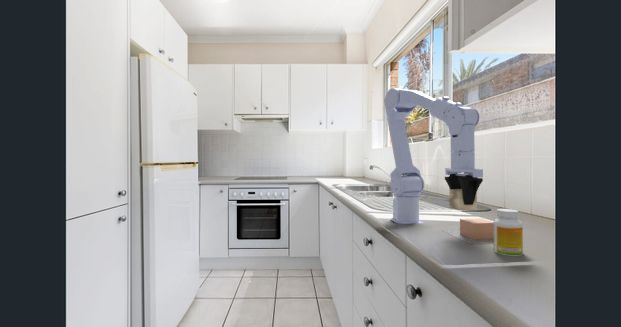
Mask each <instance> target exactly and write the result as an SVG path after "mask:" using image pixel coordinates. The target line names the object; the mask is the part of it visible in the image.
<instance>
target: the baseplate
mask: <svg viewBox="0 0 621 327" xmlns="http://www.w3.org/2000/svg"><path fill="white" fill-rule="evenodd" d="M442 233H446V234H448V235H449V236H453V238H456V239H459V240H461V241H464V242H465V243H468V244H470V245H482V244H483V245H484V244H485V245H487V244H488V245H490V244H494V239H471V238H469V237H467V236H464V235H462V234H460V229H459V230H458V229H455V230H452V229H451V230H450V229H449V230H442Z"/></svg>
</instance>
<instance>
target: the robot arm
mask: <svg viewBox="0 0 621 327" xmlns="http://www.w3.org/2000/svg"><path fill="white" fill-rule="evenodd" d="M383 102H384V107H385V113H386V119H387V120H386V121H387V125H388V131H389V132H388V133H389V136H390V142H391V146H392V153H393V157H394V158H393V159H394V164H395V168H394V169H393V170H392V171H391V173H390V174H389V175H390V185H389V186H390V189H391V192H392V193H393V195H394V198H393V200H392V217H391V218H390V221H392V222H394V223H395V224H396V223H398V224H401V225H406V224H407V225H408V224H409V225H410V224H411V225H412V224H424V223H425V222H423V221H421V220H420V196H422V195H421V193H422V192H423V191H424V189H425V180H424V178H423V177H422V174H421V171H420V169H419V168H418V167H416V166H415V165H414V164H413V159H412V158H413V157H412V154H411V148H410V143H409V138H408V133H407V129H406V123H405V120H406V118H408V117H409V116H410V115H411V114H412V112H413V111H414V110H415V109H416V108H417V106H419V107H422V108H423V109H426V110H429V113H430V115H431V116H432V117H433V118H436V119H438V120H439V121H441V122H444V123H445V124H446V126H447V127H448V133H449V135H450V167H446V168H444V171H445V175H446V176H444V180H445V182H446V184H447V185H448V187H449V189H462V193H463V201H464V205H473V203H474V200H475V196H476V193H478V190H479V187H480V186H481V184H482V183H483V181H484V179H483V178H484V169H483V168H481V169H480V168H476V167H475V165H476V164H475V163H476V162H475V157H476V156H475V150H476V149H475V127H477V125H478V124H479V122H480V113H479V111H478V110H477V109H476V108H475V107H473V106H463V104H462V103H461V102H454V101H451V100H450V97H449V96H442V97H437V98H433V97H431V96H429V95H427V94H426V93H423V92H421V91H419V90H415V89H402V88H396V87H391V88H390V89H388V90H387V92H386V95H385V97H384V99H383Z"/></svg>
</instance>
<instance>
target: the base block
mask: <svg viewBox="0 0 621 327" xmlns="http://www.w3.org/2000/svg"><path fill="white" fill-rule="evenodd" d="M493 224H494V221H491V220H488V219H484V218H481V217H480V218H460V219H459V230H460V234H462V235H464V236H467V237H469V238H471V239H494V228H493Z"/></svg>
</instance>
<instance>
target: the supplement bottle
mask: <svg viewBox="0 0 621 327" xmlns="http://www.w3.org/2000/svg"><path fill="white" fill-rule="evenodd" d="M519 213H520V212H519V210H518V209H510V208H497V209H496V217H498V218H495V219H494V221H493V222H494V224H493V228H494V243H493V252H494V253H497V254H500V255H503V256H512V257H519V256H520V257H521V256H523V255H524V251H523V250H524V249H523V248H524V246H523V243H524V242H523V240H524V238H523V237H524V236H523V234H524V233H523V229H524V228H523V222H521V220H519V219H518V218H519V216H520V214H519Z"/></svg>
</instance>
